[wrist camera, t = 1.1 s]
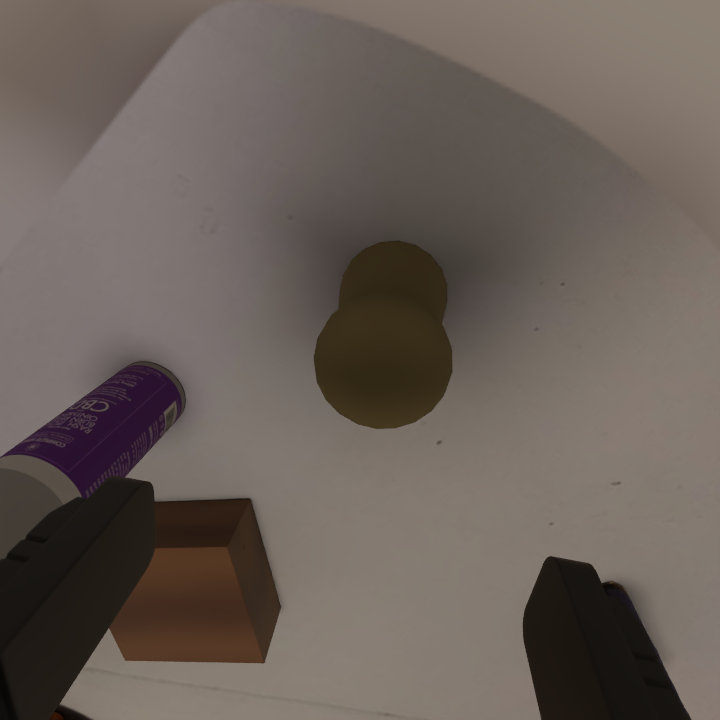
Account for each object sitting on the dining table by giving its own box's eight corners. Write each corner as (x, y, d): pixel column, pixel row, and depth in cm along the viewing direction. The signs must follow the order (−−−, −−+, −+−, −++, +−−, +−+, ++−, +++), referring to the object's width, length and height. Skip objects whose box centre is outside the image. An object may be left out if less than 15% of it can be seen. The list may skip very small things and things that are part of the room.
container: (158, 350, 29) (-71, 522, 15) (199, 411, 30) (23, 617, 17) (102, 376, 30) (-156, 557, 17) (144, 433, 32) (-61, 642, 18)
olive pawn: (363, 223, 25) (328, 267, 15) (467, 267, 25) (502, 340, 15) (325, 321, 27) (272, 417, 17) (419, 361, 27) (422, 477, 17)
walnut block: (111, 503, 35) (70, 550, 31) (250, 498, 33) (227, 546, 29) (155, 607, 39) (125, 660, 35) (281, 608, 37) (264, 663, 33)
